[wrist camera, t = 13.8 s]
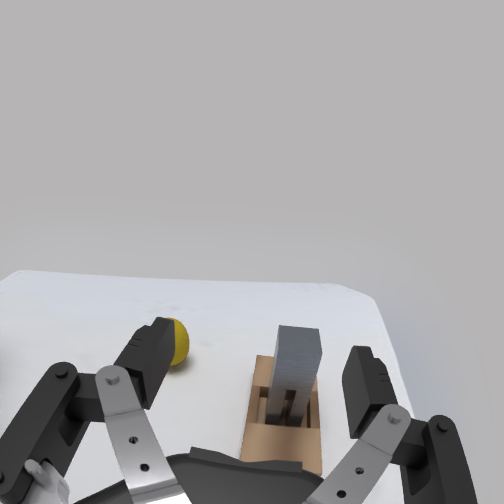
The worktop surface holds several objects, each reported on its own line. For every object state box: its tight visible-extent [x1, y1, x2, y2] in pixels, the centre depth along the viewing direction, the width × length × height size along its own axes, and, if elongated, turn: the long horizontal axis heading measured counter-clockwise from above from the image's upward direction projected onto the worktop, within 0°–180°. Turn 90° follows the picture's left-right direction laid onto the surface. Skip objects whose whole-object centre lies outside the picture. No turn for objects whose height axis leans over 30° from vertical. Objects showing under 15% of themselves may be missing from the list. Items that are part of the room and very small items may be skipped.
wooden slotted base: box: [239, 355, 322, 476], centre depth 32 cm, size 8×18×4 cm, turn 174°
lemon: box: [167, 318, 189, 365], centre depth 40 cm, size 6×6×8 cm
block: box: [264, 325, 322, 428], centre depth 30 cm, size 4×4×12 cm
